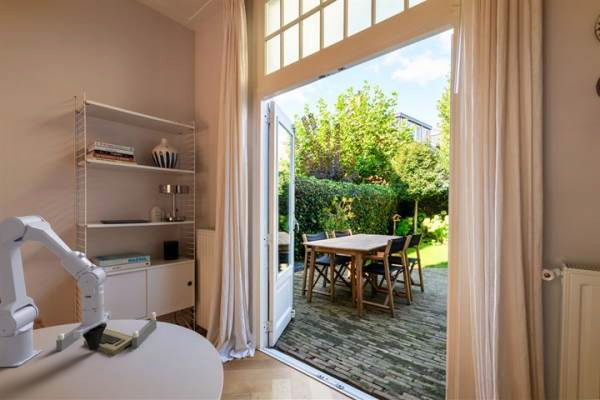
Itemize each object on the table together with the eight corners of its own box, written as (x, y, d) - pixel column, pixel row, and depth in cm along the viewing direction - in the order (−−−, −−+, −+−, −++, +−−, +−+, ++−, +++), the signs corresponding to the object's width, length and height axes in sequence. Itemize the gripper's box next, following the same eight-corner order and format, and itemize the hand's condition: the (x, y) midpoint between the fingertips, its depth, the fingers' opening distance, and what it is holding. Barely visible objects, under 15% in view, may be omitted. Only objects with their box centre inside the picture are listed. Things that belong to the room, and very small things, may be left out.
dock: (56, 351, 91) (56, 332, 91) (87, 329, 105) (86, 314, 105) (137, 348, 92) (136, 330, 92) (156, 327, 106) (156, 312, 106)
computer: (83, 347, 94) (82, 337, 94) (107, 335, 102) (107, 326, 101) (113, 357, 88) (113, 347, 88) (137, 345, 95) (137, 335, 95)
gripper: (90, 316, 83) (91, 362, 83) (119, 298, 97) (120, 336, 97) (65, 317, 82) (66, 363, 83) (98, 298, 97) (99, 337, 97)
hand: (94, 349), depth 90 cm, fingers closed
